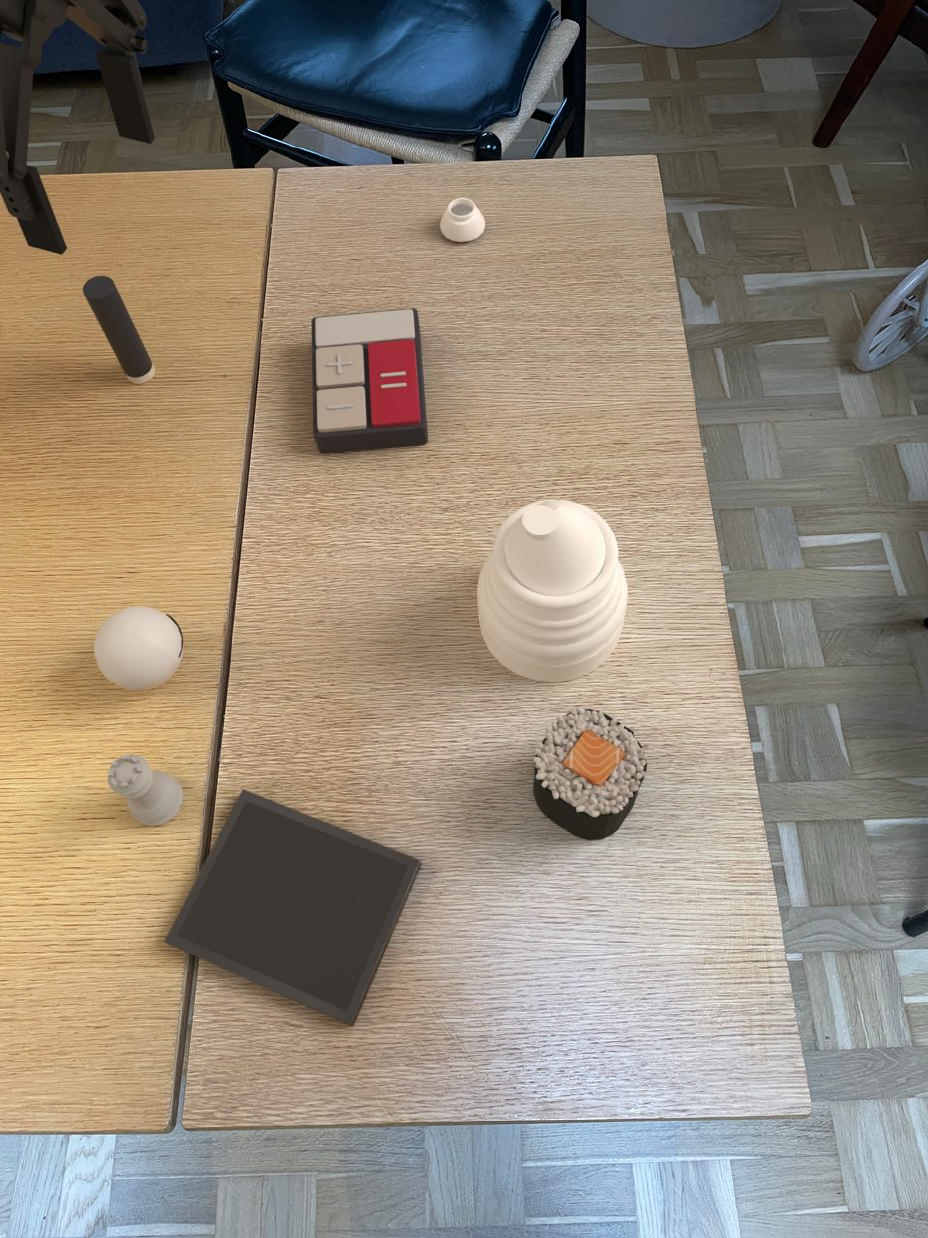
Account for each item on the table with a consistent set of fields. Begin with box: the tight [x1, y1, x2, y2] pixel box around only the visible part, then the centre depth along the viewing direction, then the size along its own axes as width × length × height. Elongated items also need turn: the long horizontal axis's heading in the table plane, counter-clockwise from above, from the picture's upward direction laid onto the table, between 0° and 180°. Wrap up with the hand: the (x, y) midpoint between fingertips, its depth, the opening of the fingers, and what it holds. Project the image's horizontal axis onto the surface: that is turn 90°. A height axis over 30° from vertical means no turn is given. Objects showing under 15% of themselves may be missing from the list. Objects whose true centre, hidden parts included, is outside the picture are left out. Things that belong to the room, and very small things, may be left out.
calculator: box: [310, 307, 429, 455], centre depth 99 cm, size 11×4×15 cm
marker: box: [82, 275, 156, 385], centre depth 98 cm, size 3×3×12 cm
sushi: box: [532, 706, 649, 841], centre depth 77 cm, size 8×8×8 cm
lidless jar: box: [439, 197, 486, 243], centre depth 110 cm, size 5×3×5 cm
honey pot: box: [476, 498, 629, 683], centre depth 80 cm, size 13×13×18 cm
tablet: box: [163, 789, 423, 1027], centre depth 77 cm, size 16×13×1 cm
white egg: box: [93, 590, 184, 692], centre depth 85 cm, size 10×7×7 cm
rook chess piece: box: [107, 753, 184, 827], centre depth 78 cm, size 4×4×8 cm
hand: (94, 190), depth 74 cm, fingers open, 13 cm apart
